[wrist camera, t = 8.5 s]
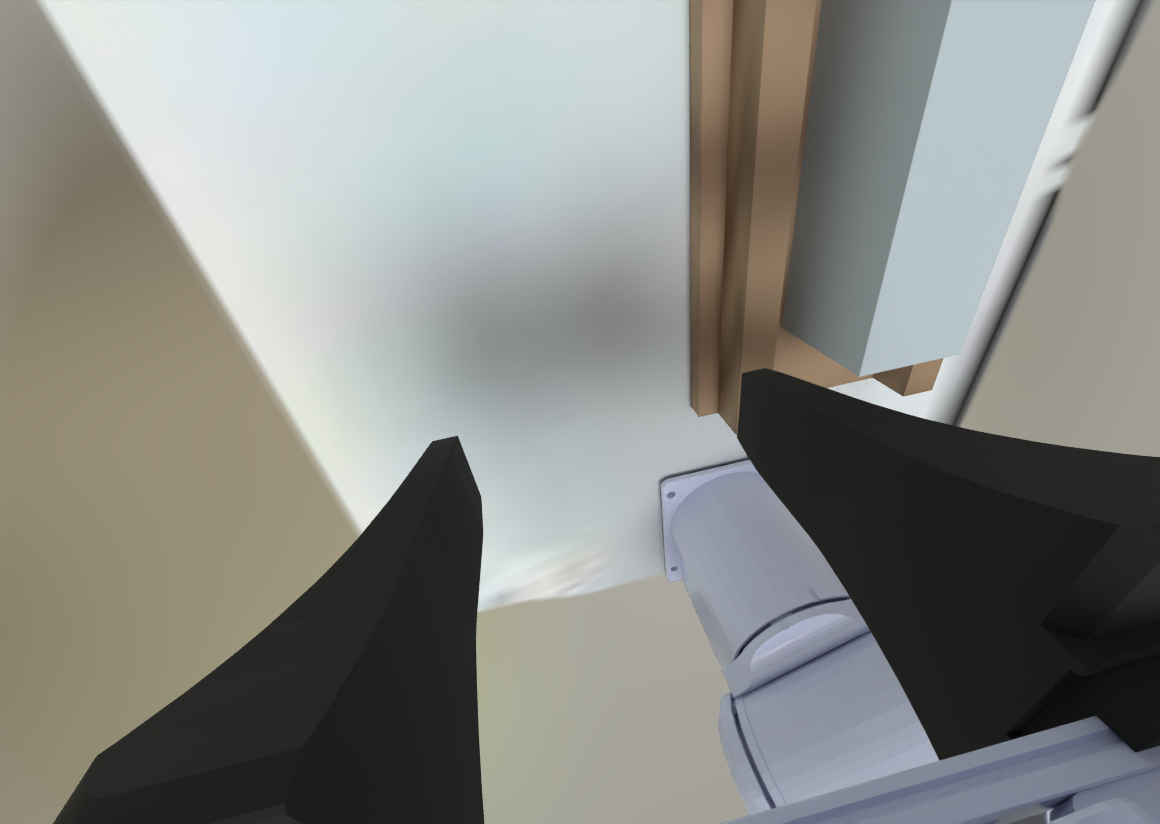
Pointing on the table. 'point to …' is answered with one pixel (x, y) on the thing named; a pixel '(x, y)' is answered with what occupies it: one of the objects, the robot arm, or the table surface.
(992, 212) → the orange-capped grey pillar
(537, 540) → the table surface
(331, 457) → the table surface
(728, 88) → the wooden rail tray
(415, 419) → the table surface
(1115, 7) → the table surface
